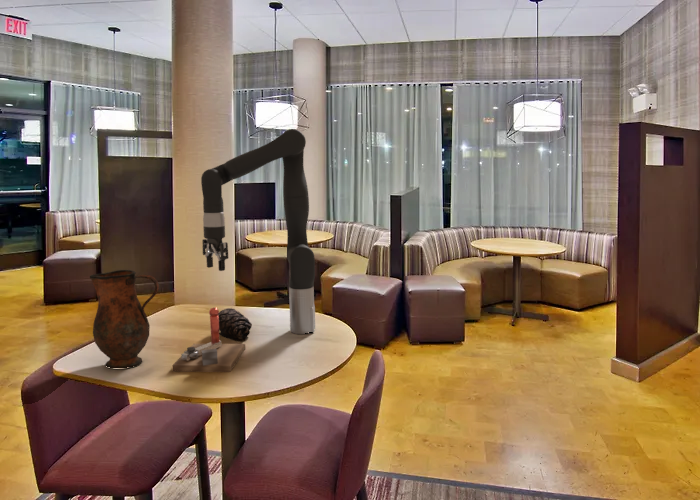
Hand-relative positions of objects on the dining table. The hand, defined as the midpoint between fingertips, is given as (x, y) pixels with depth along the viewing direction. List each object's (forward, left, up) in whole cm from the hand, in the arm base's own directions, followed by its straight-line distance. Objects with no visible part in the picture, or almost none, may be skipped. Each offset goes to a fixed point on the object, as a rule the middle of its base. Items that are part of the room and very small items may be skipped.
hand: (215, 268), depth 196 cm
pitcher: (+21, +29, -26) cm, 44 cm away
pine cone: (-7, 0, -26) cm, 26 cm away
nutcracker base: (-4, +25, -25) cm, 36 cm away
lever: (-2, +25, -23) cm, 34 cm away
